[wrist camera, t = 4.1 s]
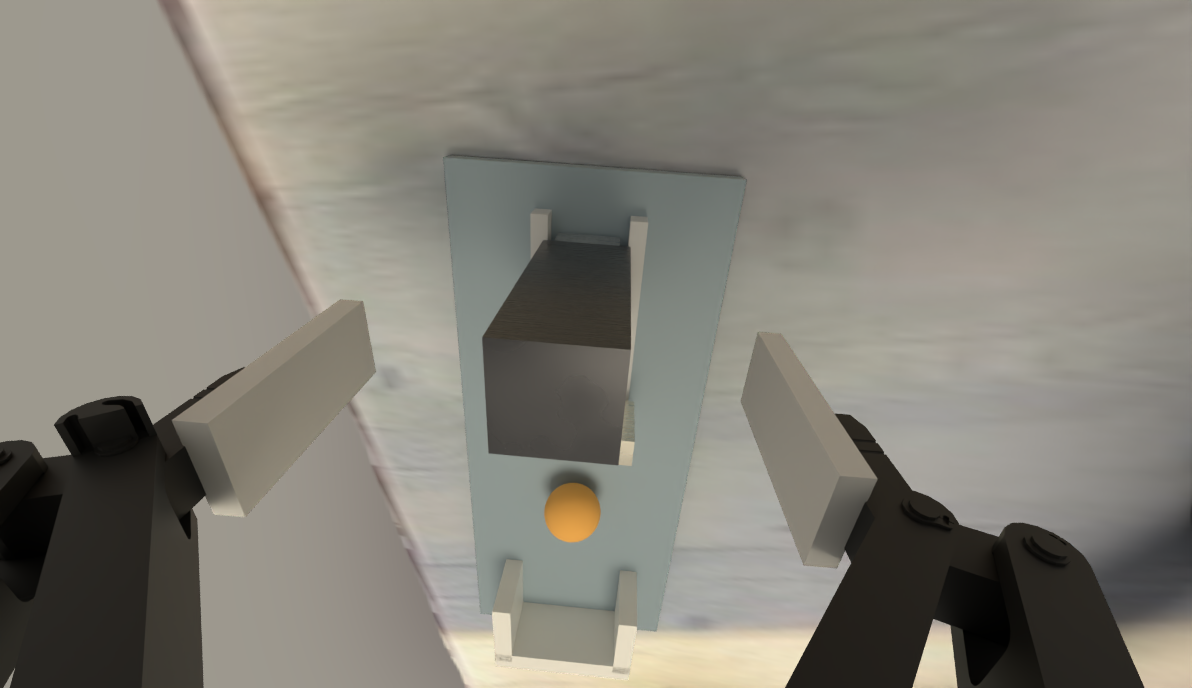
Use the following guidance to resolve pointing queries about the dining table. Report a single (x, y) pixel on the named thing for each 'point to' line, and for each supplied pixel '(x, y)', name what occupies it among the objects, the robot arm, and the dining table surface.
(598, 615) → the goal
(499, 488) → the pitch
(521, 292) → the dark textured box
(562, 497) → the ball
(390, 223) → the dining table surface
